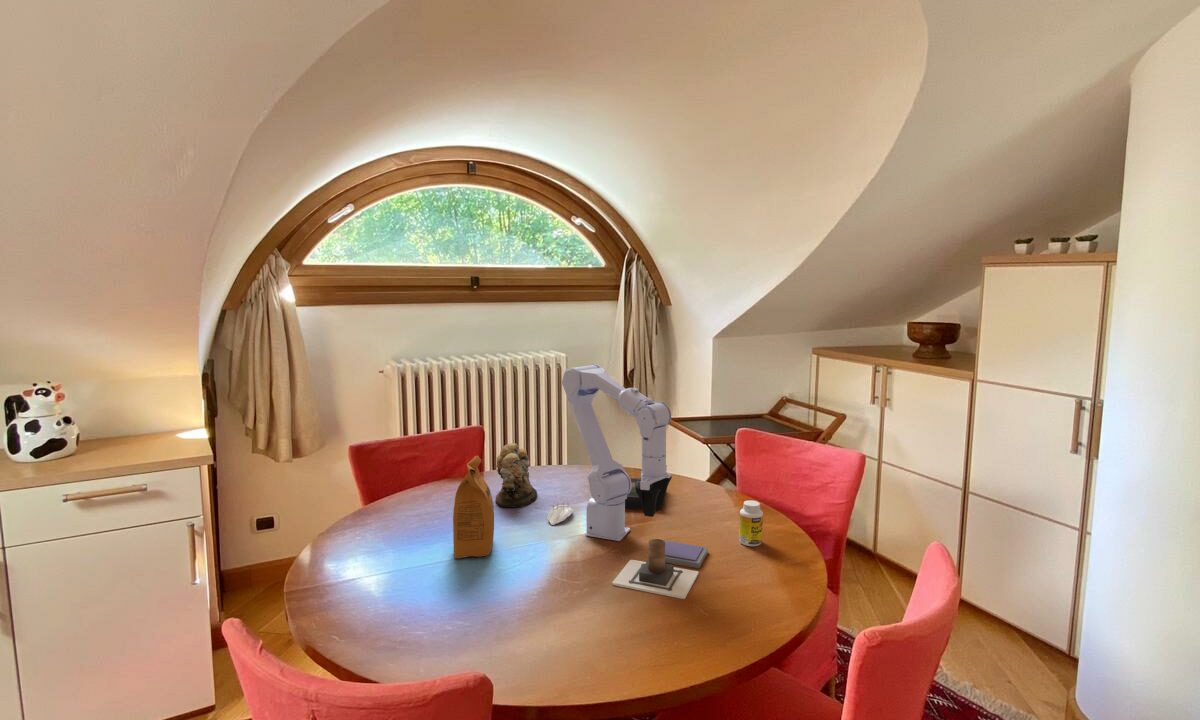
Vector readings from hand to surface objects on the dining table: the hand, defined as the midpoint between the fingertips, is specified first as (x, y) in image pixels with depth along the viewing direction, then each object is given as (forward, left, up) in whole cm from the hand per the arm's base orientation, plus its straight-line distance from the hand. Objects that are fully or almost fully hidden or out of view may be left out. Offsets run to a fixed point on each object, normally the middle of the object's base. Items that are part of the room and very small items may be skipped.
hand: (654, 510), depth 151 cm
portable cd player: (-16, +32, -11) cm, 38 cm away
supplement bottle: (+21, +14, -11) cm, 27 cm away
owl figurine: (-48, +19, -11) cm, 53 cm away
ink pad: (+7, 0, -10) cm, 12 cm away
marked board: (+5, -13, -10) cm, 17 cm away
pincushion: (-30, +11, -11) cm, 34 cm away
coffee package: (-40, -15, -11) cm, 44 cm away
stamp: (+5, -13, -10) cm, 17 cm away
